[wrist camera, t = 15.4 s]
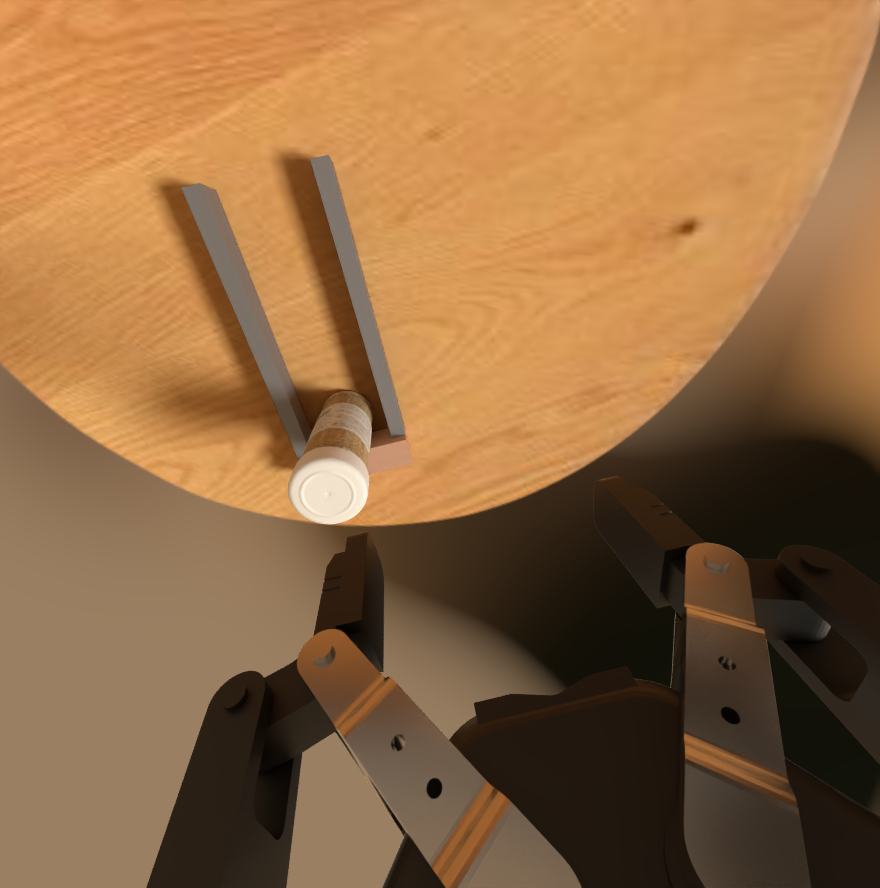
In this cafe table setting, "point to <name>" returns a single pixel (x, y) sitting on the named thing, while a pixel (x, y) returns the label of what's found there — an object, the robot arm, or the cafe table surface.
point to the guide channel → (227, 258)
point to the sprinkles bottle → (334, 462)
